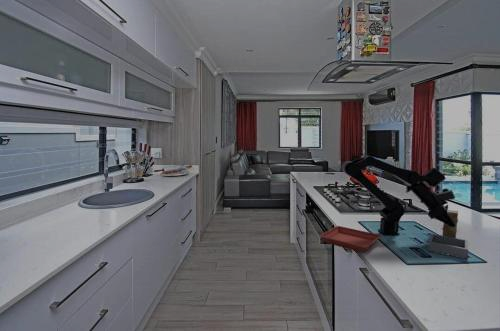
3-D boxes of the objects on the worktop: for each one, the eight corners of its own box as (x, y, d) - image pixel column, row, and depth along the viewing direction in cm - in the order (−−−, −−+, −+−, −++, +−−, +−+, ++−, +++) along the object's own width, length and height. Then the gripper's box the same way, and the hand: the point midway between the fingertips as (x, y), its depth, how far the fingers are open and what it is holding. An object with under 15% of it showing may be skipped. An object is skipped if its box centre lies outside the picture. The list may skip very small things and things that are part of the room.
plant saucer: (337, 232, 127) (337, 225, 127) (381, 242, 116) (381, 234, 115) (318, 243, 113) (319, 235, 113) (366, 256, 102) (366, 247, 101)
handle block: (442, 240, 118) (444, 211, 117) (442, 237, 122) (445, 209, 121) (455, 242, 116) (457, 213, 114) (455, 239, 119) (458, 211, 118)
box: (427, 251, 107) (428, 241, 106) (430, 242, 116) (431, 233, 116) (467, 259, 100) (468, 249, 99) (466, 249, 109) (467, 240, 109)
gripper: (440, 185, 111) (474, 218, 106) (443, 180, 126) (472, 209, 121) (415, 202, 116) (446, 235, 111) (420, 195, 132) (448, 223, 126)
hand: (454, 225), depth 117 cm, fingers closed on handle block, 4 cm apart
